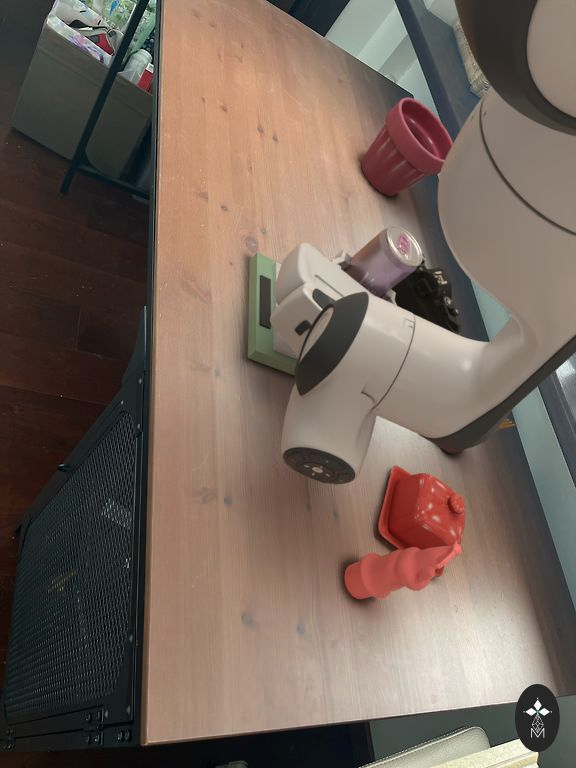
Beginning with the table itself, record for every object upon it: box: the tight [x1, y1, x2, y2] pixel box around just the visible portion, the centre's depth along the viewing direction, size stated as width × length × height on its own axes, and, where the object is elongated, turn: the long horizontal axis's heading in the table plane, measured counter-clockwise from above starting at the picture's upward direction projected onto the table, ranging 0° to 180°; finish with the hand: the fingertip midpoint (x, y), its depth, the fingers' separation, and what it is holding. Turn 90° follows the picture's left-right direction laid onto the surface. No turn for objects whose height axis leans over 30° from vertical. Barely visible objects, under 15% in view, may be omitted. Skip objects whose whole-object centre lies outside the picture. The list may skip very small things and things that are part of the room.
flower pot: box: [360, 97, 454, 197], centre depth 113 cm, size 14×14×13 cm
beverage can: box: [344, 224, 423, 298], centre depth 76 cm, size 6×6×15 cm
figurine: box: [343, 543, 463, 600], centre depth 66 cm, size 5×5×15 cm
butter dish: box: [377, 465, 466, 577], centre depth 78 cm, size 12×12×8 cm
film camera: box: [391, 252, 462, 336], centre depth 99 cm, size 18×12×10 cm
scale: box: [246, 252, 298, 377], centre depth 83 cm, size 17×16×3 cm
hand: (365, 274), depth 76 cm, fingers closed on beverage can, 6 cm apart
